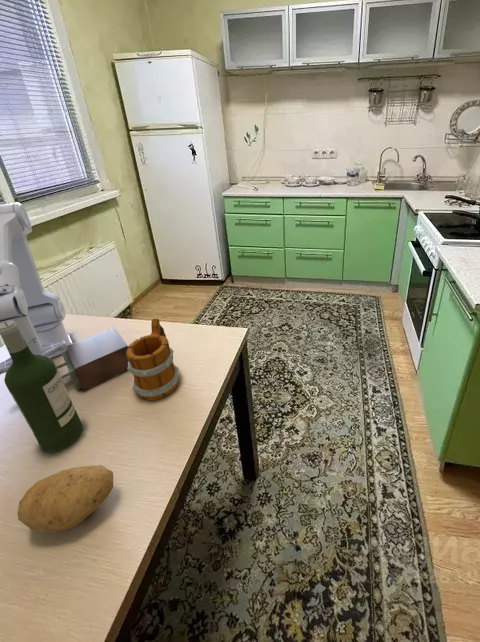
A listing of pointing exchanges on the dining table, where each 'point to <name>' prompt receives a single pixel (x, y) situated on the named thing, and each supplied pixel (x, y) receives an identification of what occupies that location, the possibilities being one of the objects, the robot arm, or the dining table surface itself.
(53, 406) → the wine bottle
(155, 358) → the mug
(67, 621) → the dining table surface
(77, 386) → the drawer
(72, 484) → the potato
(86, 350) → the cabinet
